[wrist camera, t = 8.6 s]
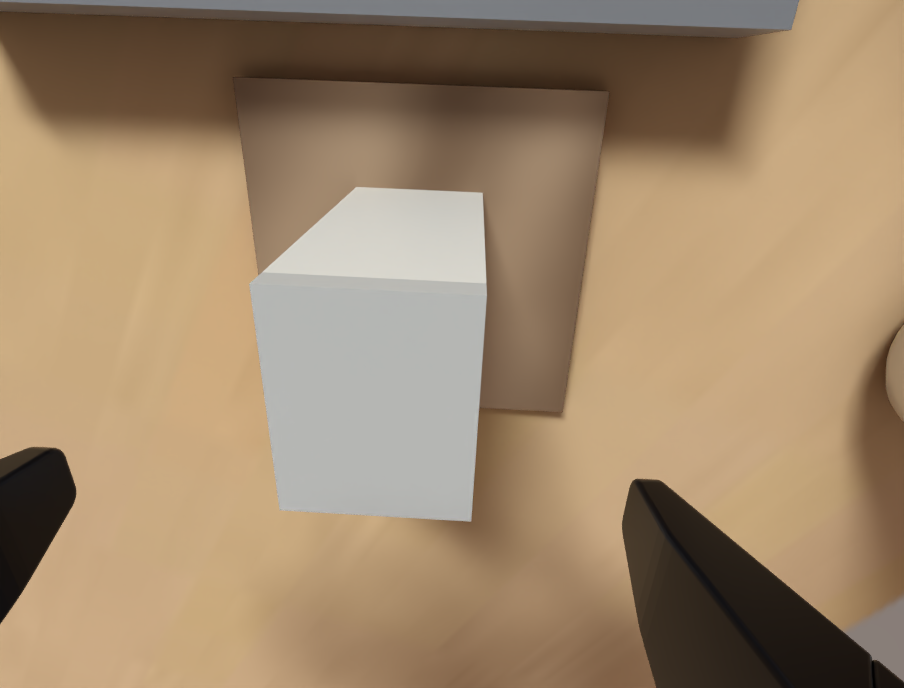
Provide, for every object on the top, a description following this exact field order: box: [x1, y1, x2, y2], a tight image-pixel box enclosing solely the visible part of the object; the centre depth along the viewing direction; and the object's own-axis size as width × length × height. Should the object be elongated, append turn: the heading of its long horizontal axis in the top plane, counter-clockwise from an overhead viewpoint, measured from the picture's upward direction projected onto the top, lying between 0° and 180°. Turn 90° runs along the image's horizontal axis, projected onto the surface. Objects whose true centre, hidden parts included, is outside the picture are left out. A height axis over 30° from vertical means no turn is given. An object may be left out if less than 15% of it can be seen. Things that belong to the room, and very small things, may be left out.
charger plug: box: [249, 187, 487, 522], centre depth 14 cm, size 4×5×9 cm
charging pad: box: [233, 77, 609, 412], centre depth 19 cm, size 11×11×1 cm
